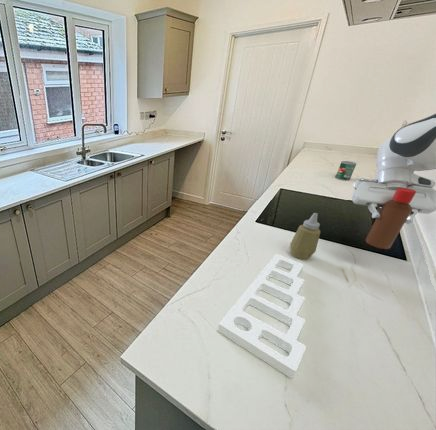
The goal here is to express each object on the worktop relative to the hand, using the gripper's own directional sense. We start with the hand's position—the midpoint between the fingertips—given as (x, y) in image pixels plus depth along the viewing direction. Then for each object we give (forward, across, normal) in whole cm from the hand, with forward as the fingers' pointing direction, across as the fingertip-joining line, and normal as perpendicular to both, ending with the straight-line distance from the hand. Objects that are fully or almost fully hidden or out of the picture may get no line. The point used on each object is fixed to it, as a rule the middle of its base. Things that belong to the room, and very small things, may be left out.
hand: (391, 220), depth 84 cm
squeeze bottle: (+15, -20, +13) cm, 28 cm away
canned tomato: (-66, +18, +95) cm, 117 cm away
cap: (-5, 0, -4) cm, 7 cm away
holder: (+37, -29, -9) cm, 47 cm away
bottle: (+6, 0, +7) cm, 9 cm away
